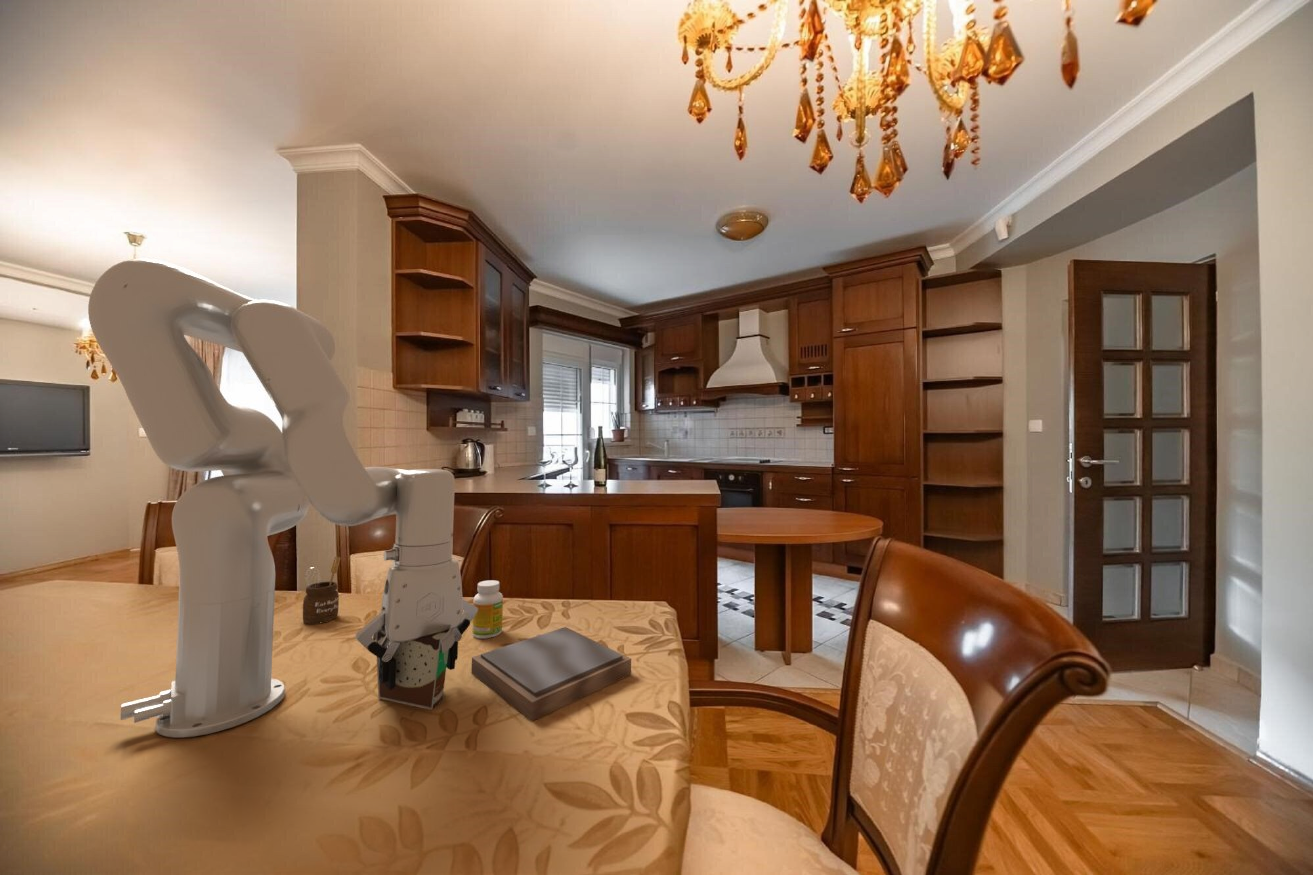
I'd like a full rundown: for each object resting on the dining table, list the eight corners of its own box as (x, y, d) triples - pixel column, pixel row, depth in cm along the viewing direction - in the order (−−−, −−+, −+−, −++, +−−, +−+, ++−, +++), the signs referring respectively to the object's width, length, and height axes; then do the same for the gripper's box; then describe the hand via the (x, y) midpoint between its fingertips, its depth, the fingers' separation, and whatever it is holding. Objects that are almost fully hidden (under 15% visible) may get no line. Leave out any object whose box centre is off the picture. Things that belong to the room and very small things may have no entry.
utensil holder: (294, 622, 92) (297, 562, 92) (325, 612, 98) (327, 555, 98) (316, 626, 90) (318, 565, 90) (346, 615, 96) (348, 558, 96)
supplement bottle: (495, 639, 86) (497, 587, 86) (467, 638, 86) (468, 586, 86) (505, 628, 91) (507, 579, 91) (479, 627, 91) (480, 578, 91)
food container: (471, 689, 68) (473, 621, 68) (441, 711, 62) (443, 637, 62) (404, 676, 71) (407, 611, 72) (370, 696, 66) (372, 626, 66)
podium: (531, 721, 60) (532, 698, 61) (471, 673, 73) (471, 654, 73) (630, 674, 73) (631, 655, 74) (565, 640, 86) (565, 624, 86)
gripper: (362, 569, 58) (357, 710, 58) (492, 549, 71) (489, 665, 70) (347, 558, 63) (342, 687, 63) (471, 541, 76) (467, 649, 75)
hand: (419, 674), depth 66 cm, fingers open, 7 cm apart
